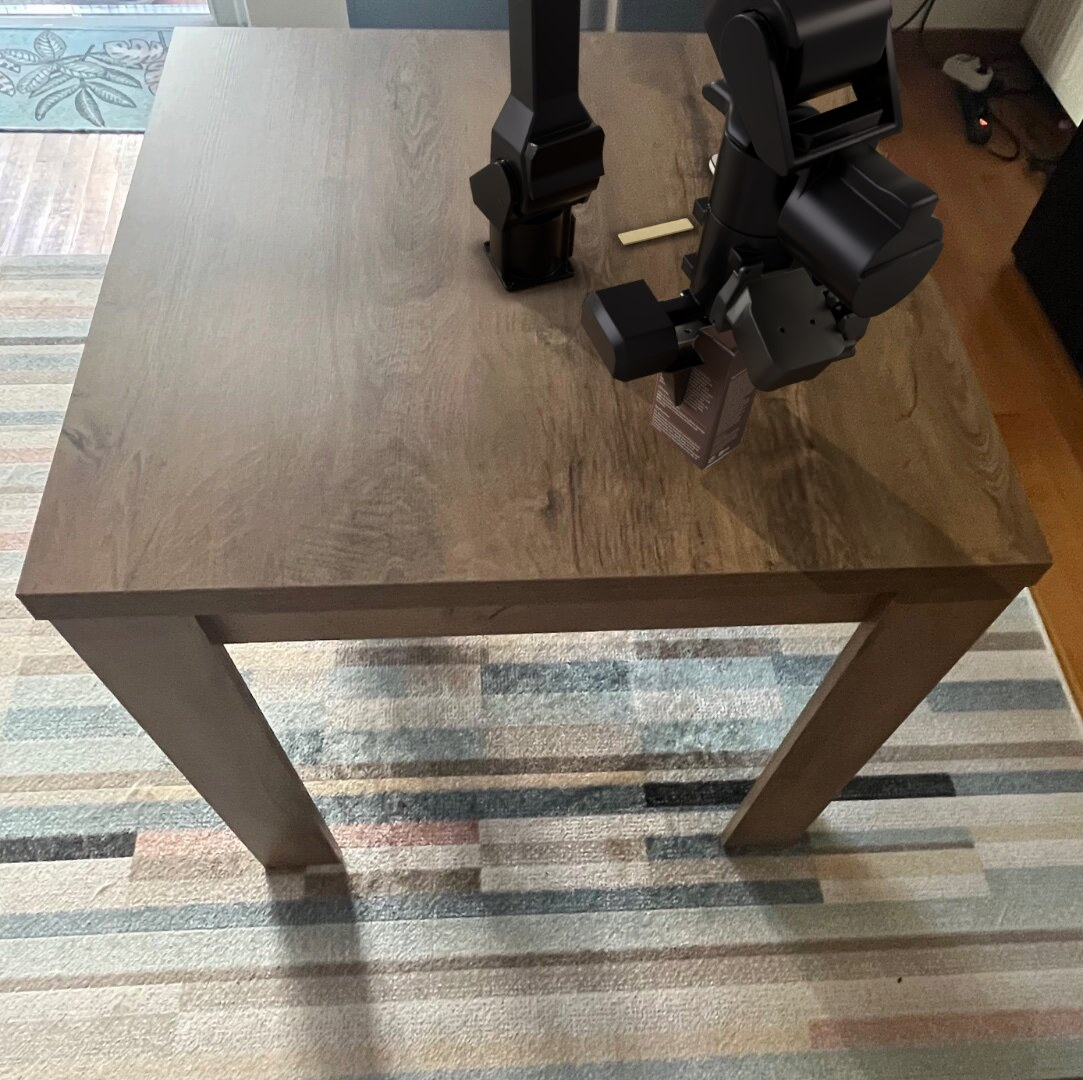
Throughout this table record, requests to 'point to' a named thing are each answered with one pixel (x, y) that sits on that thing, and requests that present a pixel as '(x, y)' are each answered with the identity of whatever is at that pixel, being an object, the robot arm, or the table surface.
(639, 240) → the tape mark
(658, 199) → the table surface
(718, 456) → the box
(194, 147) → the table surface
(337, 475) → the table surface
